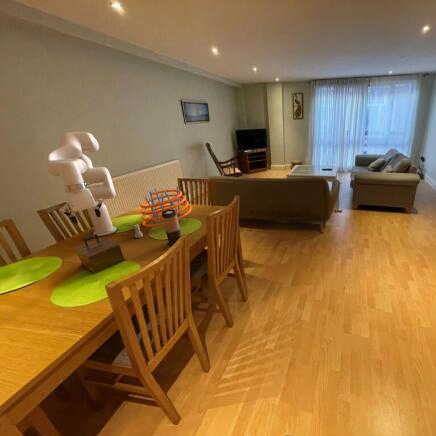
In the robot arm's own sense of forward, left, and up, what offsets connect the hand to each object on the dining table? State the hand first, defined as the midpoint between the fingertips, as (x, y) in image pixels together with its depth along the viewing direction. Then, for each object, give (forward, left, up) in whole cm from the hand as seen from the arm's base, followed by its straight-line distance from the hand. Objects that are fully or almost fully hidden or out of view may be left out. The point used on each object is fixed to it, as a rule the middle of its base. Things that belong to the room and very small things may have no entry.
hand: (87, 219), depth 122 cm
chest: (+7, -2, -22) cm, 23 cm away
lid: (+6, -2, -13) cm, 15 cm away
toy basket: (-17, +50, -23) cm, 58 cm away
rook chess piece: (-8, +24, -23) cm, 34 cm away
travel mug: (+20, +31, -23) cm, 43 cm away
